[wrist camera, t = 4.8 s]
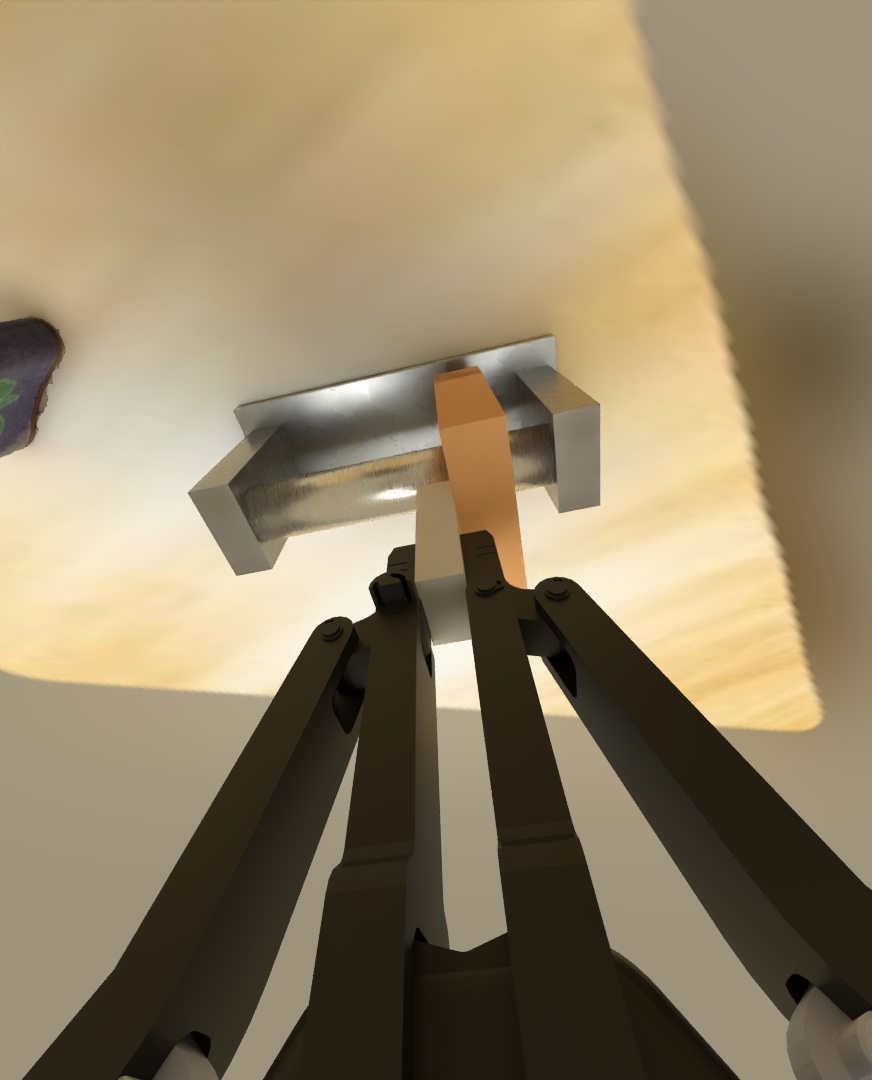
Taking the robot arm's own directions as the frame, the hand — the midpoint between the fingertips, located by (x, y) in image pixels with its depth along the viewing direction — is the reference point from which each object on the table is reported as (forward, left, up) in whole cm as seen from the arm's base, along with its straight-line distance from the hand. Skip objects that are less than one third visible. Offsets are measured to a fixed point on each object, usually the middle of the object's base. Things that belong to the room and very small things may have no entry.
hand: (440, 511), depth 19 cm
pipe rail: (0, -2, -12) cm, 12 cm away
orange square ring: (0, +2, -8) cm, 8 cm away
